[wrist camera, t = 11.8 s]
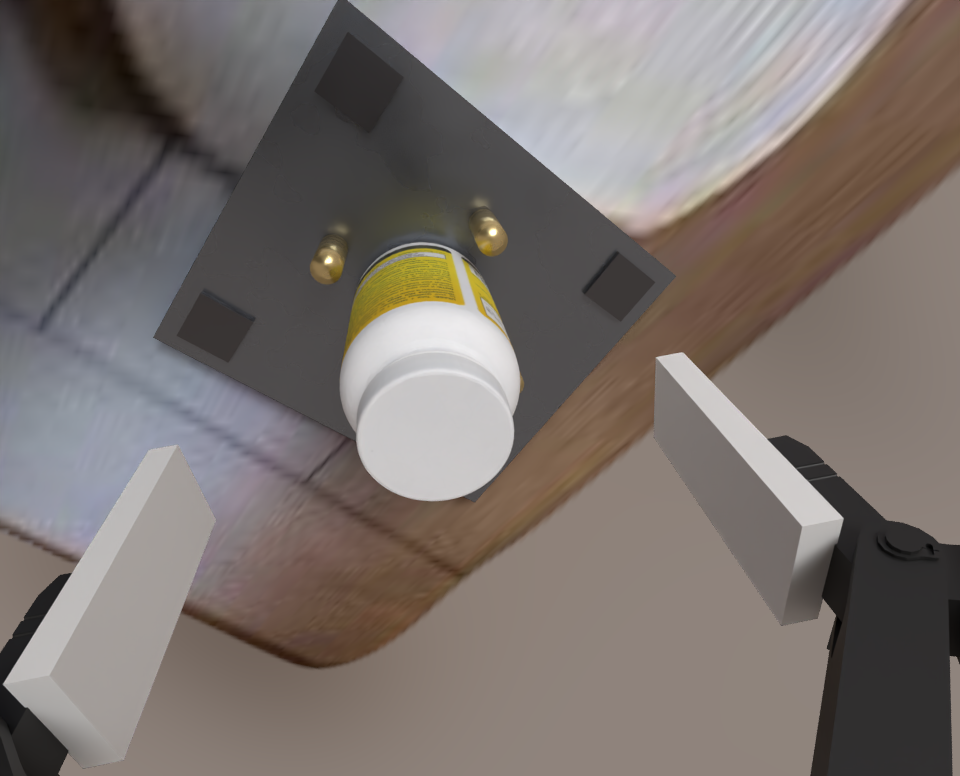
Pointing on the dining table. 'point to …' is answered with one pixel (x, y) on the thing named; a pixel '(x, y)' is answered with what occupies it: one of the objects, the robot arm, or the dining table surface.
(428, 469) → the pill bottle
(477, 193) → the plate
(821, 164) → the dining table surface
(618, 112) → the dining table surface
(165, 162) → the dining table surface
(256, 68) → the dining table surface
